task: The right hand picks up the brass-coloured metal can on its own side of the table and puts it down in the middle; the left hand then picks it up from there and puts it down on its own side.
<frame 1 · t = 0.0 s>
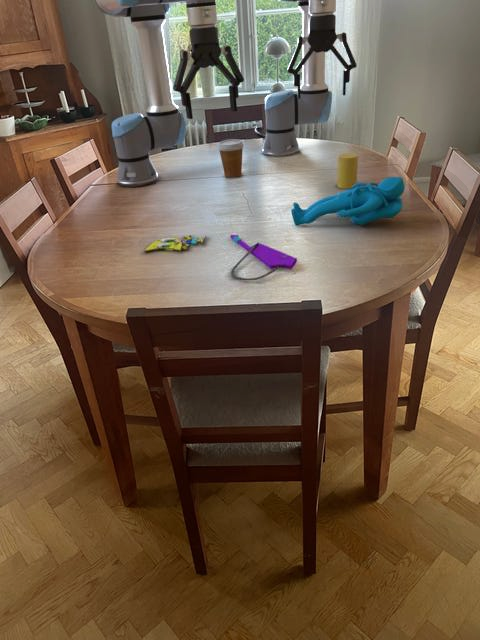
left hand: (212, 114, 136), 28 cm above the table, tool pointing down, fingers open, 13 cm apart
right hand: (321, 96, 147), 28 cm above the table, tool pointing down, fingers open, 13 cm apart
toy 2: (176, 245, 130), on the table
toy: (345, 223, 134), on the table
can: (346, 185, 161), on the table
disposable coffee cup: (233, 175, 181), on the table
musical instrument: (249, 261, 118), on the table
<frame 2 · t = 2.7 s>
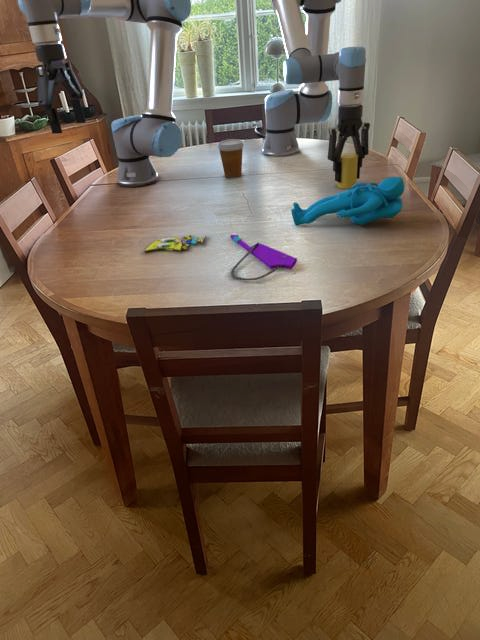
left hand: (69, 127, 139), 27 cm above the table, tool pointing down, fingers open, 13 cm apart
right hand: (347, 179, 160), 2 cm above the table, tool pointing down, fingers closed on can, 6 cm apart
can: (346, 185, 161), on the table, touching right hand
everything else where it was.
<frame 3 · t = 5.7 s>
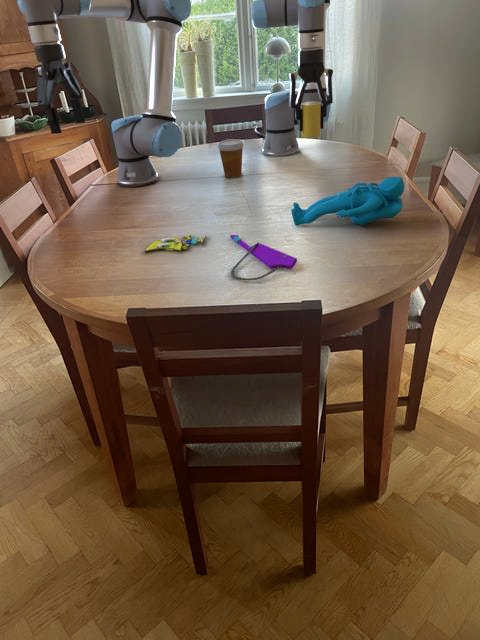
left hand: (69, 128, 139), 27 cm above the table, tool pointing down, fingers open, 13 cm apart
right hand: (310, 128, 157), 18 cm above the table, tool pointing down, fingers closed on can, 6 cm apart
can: (310, 135, 159), point 16 cm above the table, touching right hand
everything else where it was.
when the right hand's fingers open (4 cm above the table, at t = 8.7 s): can drops 2 cm, on the table.
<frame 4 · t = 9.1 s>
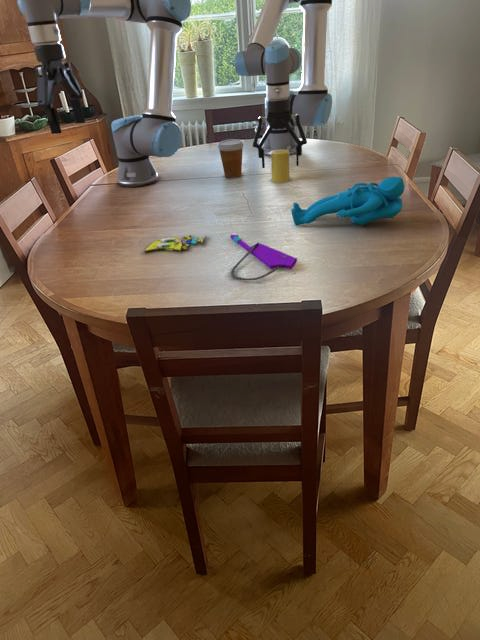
left hand: (69, 128, 139), 27 cm above the table, tool pointing down, fingers open, 13 cm apart
right hand: (280, 166, 169), 5 cm above the table, tool pointing down, fingers open, 11 cm apart
can: (280, 179, 172), on the table
everything else where it was.
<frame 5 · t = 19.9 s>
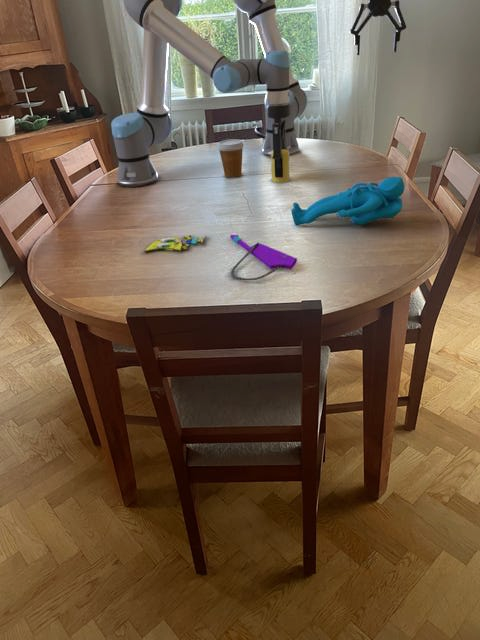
left hand: (280, 174, 171), 2 cm above the table, tool pointing down, fingers closed on can, 6 cm apart
right hand: (376, 53, 183), 34 cm above the table, tool pointing down, fingers open, 13 cm apart
can: (280, 179, 172), on the table, touching left hand
everything else where it was.
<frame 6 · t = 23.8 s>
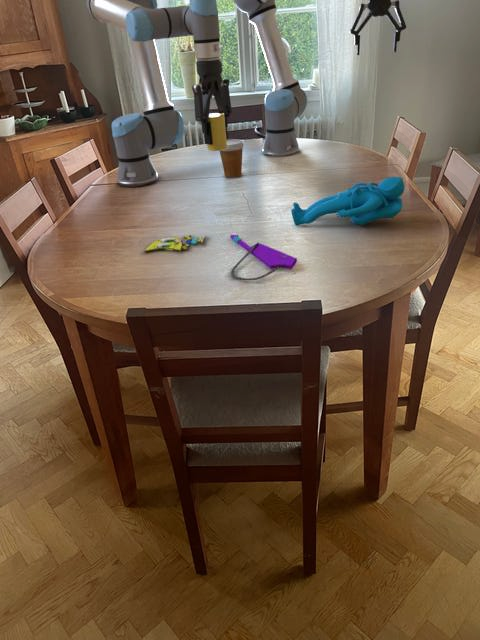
left hand: (216, 141, 152), 18 cm above the table, tool pointing down, fingers closed on can, 6 cm apart
right hand: (376, 53, 183), 34 cm above the table, tool pointing down, fingers open, 13 cm apart
can: (217, 148, 153), point 16 cm above the table, touching left hand
everything else where it was.
when the left hand's fingers open (4 cm above the table, at t = 27.8 s): can drops 2 cm, on the table.
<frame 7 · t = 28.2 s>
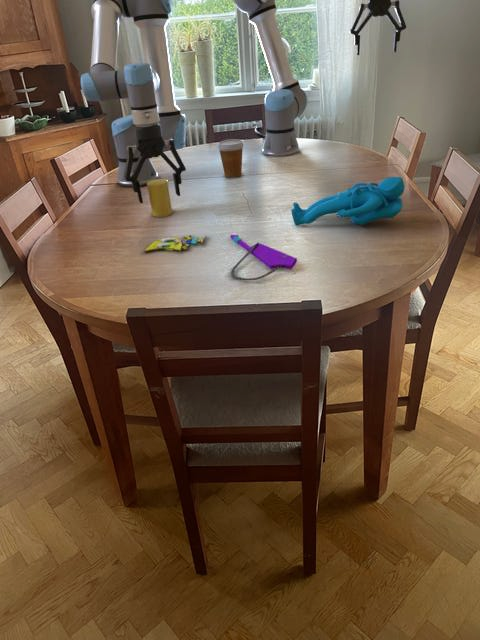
left hand: (159, 198, 150), 5 cm above the table, tool pointing down, fingers open, 11 cm apart
right hand: (376, 53, 183), 34 cm above the table, tool pointing down, fingers open, 13 cm apart
can: (162, 213, 152), on the table
everything else where it was.
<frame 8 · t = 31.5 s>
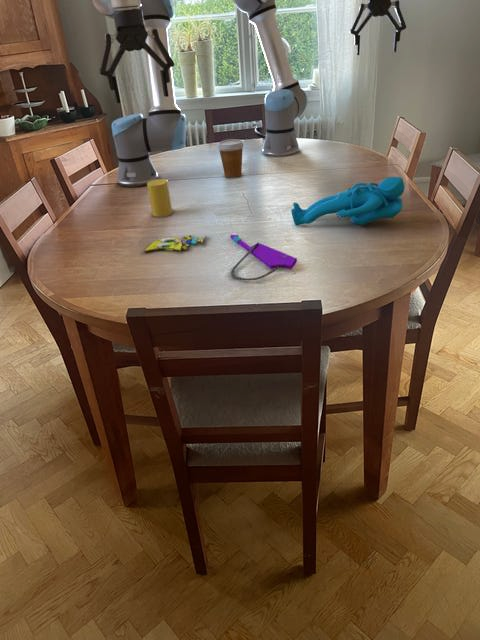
left hand: (142, 99, 134), 33 cm above the table, tool pointing down, fingers open, 13 cm apart
right hand: (376, 53, 183), 34 cm above the table, tool pointing down, fingers open, 13 cm apart
nothing on the table moved.
at the end: can inside the target area (0.1 cm from its centre), on the table; can tilted 0°; the two hands never held the can at the same time; the left hand is holding nothing; the right hand is holding nothing; can at rest at the end (0.0 cm/s) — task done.
